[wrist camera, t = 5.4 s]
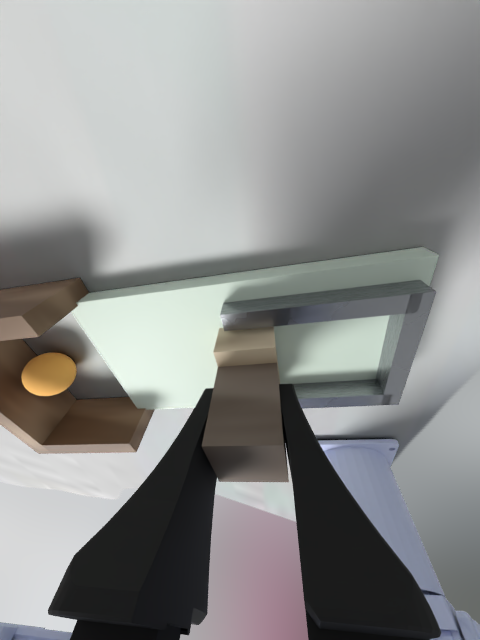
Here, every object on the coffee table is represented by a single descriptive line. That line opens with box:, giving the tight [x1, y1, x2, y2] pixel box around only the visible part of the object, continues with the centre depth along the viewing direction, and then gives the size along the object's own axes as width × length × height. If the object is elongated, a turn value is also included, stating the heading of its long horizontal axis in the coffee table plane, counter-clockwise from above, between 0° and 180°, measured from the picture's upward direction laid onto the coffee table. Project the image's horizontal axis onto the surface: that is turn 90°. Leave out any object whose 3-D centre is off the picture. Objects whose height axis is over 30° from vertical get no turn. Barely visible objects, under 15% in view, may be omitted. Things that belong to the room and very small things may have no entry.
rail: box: [220, 280, 436, 408], centre depth 13 cm, size 8×10×1 cm
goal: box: [0, 278, 154, 454], centre depth 16 cm, size 12×8×4 cm
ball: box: [21, 352, 77, 396], centre depth 16 cm, size 3×3×3 cm
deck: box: [71, 247, 439, 410], centre depth 15 cm, size 10×19×1 cm, turn 100°
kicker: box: [202, 327, 289, 482], centre depth 12 cm, size 5×3×6 cm, turn 10°
